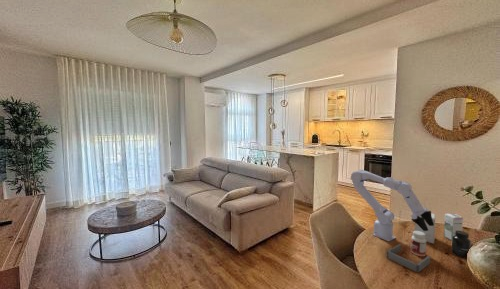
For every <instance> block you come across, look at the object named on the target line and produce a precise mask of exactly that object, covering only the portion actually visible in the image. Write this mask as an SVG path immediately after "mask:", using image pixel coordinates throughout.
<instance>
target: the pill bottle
mask: <svg viewBox="0 0 500 289" xmlns="http://www.w3.org/2000/svg"><path fill="white" fill-rule="evenodd" d="M410 238H411V239H410V240H411V241H410V252H411V253H412V254H413V255H415V256H417V257H425V256H426V255H427V254H426V253H427V242H426V239H425V233H423V232H420V231H415V230H413V232H412V236H411V237H410Z"/></svg>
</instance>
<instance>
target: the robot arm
mask: <svg viewBox="0 0 500 289" xmlns="http://www.w3.org/2000/svg"><path fill="white" fill-rule="evenodd" d="M350 180H351V181H352V184H353V187H354V189H355V191H357V193H358V194H359V195H360V196H361V197H362V198H363V199H364V200H365V202H366V203H367V204H368V205H369V206H370V207H371V208H372V210H373V211H374V215H375V217H377V219H376V220H375V221H374V224H373V234H372V235H373V236H375V237H377V238H379V239H382V240H384V241H387V242H392V241H393V240H395V239H396V238H397V237H396V236H394V235H393V233H394V223H393V221H394V219H395V214H394V213H393V212H392V211H391V210H389V209H388V208H387V207H385V206H383V205H382V203H380V202H379V201H378V200H377V198H376V197H374V195H373V194H372V193H371V192H370V191H369V190H368V189H367V188H366V186H365V185H364V183H365V180H371V181H374V182H378V183H381V184H382V185H383V186H384V187H386V188H388V189H392V190H395V191H397V192H398V194H401V196H402V197H403V199H404V200H405V202H406V204H407V205H408V207H409V209H410V211H411V212H412V213H411V215H410V216H411V221H412V222H413V223H414V224H415V223H416V224H417V225H418V226H419V227H420V228H421V229H422V230H423V231H428V228H427V226H426V224H425V221H426V222H427V224H428V225H429V226H434V223H433V220H432V216H431V213H432V211H431V210H429V209H428V208H427V206H423V205H422V203H421V201H420V200H419V199H418V197H417V196H416V194H415V192H414V191H413V189H412V185H411V184H410V183H409V182H407V181H402V180H397V179H394V178H393V177H391V176H390V177H388V176H387V177H382V176H380V175H378V174H374V173H372V172H371V171H367V170H364V169H359V170H355V171H352V172H351V174H350ZM419 216H421V217H419ZM424 220H425V221H424Z"/></svg>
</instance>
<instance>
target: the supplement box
mask: <svg viewBox="0 0 500 289" xmlns="http://www.w3.org/2000/svg"><path fill="white" fill-rule="evenodd" d="M431 216H432V220H433V223H434V226H429V225H428V224H427V222H426V221H425V220H424V221H425V224H426V226H427V228H428V231H423V230H422V229H421V228H420V227H419V226H418V225H417V224H416V223H415V222H414V231H420V232H423V233H425V239H426V243H430V244H435V238H436V214H435V213H432V212H431ZM419 217H421V216H419Z"/></svg>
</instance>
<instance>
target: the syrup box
mask: <svg viewBox="0 0 500 289" xmlns="http://www.w3.org/2000/svg"><path fill="white" fill-rule="evenodd" d="M463 222H464V218H463V216H460V215H458V214H455V213H452V212H451V213H444V227H443V228H444V230H443V231H444V233H443V237H445V238H447V239H448V240H450V241H452V238H453V236H454V235H455V233H456V231H463Z"/></svg>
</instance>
